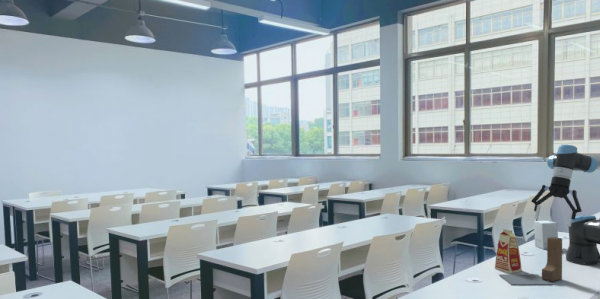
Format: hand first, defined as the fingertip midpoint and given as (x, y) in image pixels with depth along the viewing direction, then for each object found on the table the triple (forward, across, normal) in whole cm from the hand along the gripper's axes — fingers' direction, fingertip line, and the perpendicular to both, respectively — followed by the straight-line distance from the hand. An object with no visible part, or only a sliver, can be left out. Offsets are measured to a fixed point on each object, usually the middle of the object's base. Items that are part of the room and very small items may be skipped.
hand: (552, 222), depth 195 cm
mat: (+28, -3, -11) cm, 30 cm away
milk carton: (+27, -15, +2) cm, 31 cm away
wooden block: (+25, +5, -4) cm, 26 cm away
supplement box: (+13, -14, +58) cm, 61 cm away
